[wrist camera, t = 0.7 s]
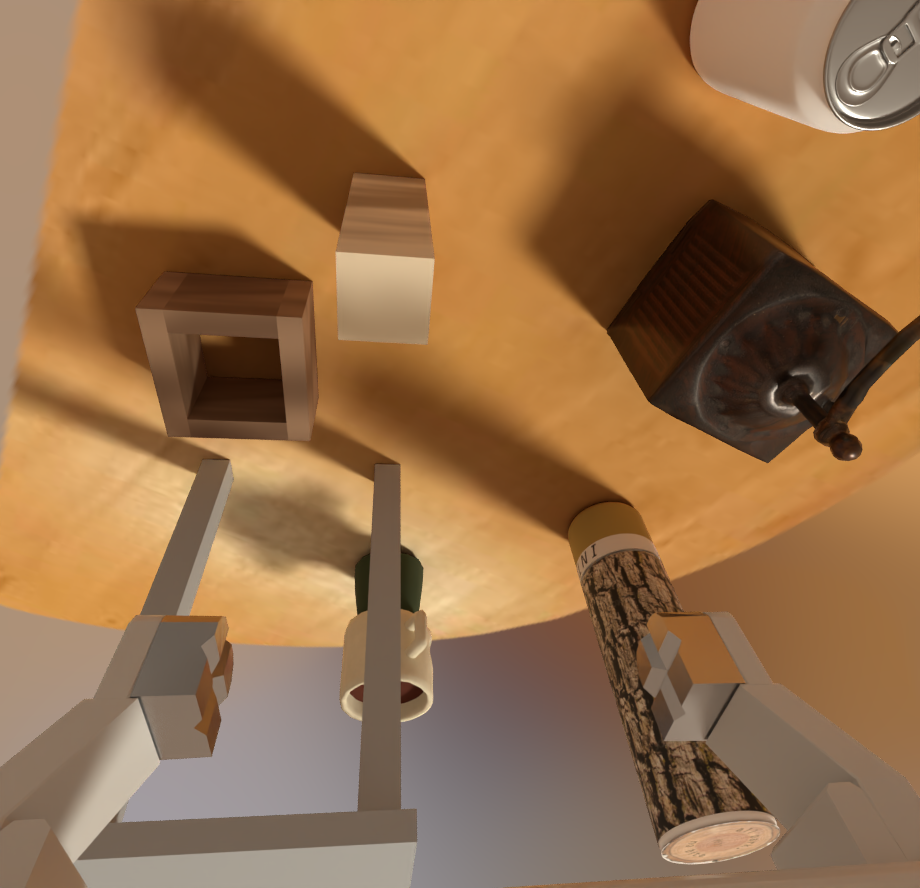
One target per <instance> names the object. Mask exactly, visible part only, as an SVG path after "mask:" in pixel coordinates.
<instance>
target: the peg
mask: <svg viewBox="0 0 920 888" xmlns="http://www.w3.org/2000/svg"><path fill="white" fill-rule="evenodd" d="M433 272H434V250H433V242H432V234H431V225H430V217H429V209H428V200H427V192H426V184H425V179H420V178H409V177H398V176H387V175H375V174H364V173H354V174H353V179H352V183H351V187H350V192H349V196H348V200H347V205H346V209H345V214H344V218H343V222H342V227H341V231H340V235H339V240H338V244H337V249H336V279H337V317H338V340H351V341H369V342H388V343H406V344H425V345H428V335H429V322H430V309H431V297H432V284H433Z"/></svg>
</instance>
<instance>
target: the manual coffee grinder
mask: <svg viewBox="0 0 920 888" xmlns="http://www.w3.org/2000/svg"><path fill="white" fill-rule="evenodd" d="M607 334H608V335H609V336H610V337H611V339H612V341H613V343H614V344H615V346H616V348H617V349H618V351H619V353H620V355H621V356H622V358H623V360H624V362H625V363H626V365H627V367H628V368H629V370H630V372H631V373H632V375H633V377H634V378H635V380H636V382H637V383H638V385H639V387H640V388H641V390H642V392H643V393H644V395H645V397H646V399H647V400H648V401H649V402H650V403H651V404H652V405H654V406H656V407H657V408H659V409H661V410H662V411H664V412H666V413H668V414H669V415H671V416H673V417H674V418H676V419H678V420H681V421H683V422H685V423H687V424H689V425H691V426H693V427H695V428H697V429H699V430H701V431H703V432H705V433H707V434H709V435H711V436H713V437H715V438H717V439H719V440H720V441H722V442H724V443H726V444H728V445H730V446H732V447H734V448H736V449H738V450H740V451H742V452H745V453H747V454H749V455H751V456H753V457H755V458H757V459H759V460H762V461H764V462H766V463H769V462H770V461H771V460H772V459H773V458H775V457H776V456H777V455H778V454H779V453H780V452H782V451H783V450H784V449H785V448H786V447H788V446H789V445H790V444H791V443H792V442H793V441H795V440H796V439H797V438H798V437H799V436H800V435H801V434H803V433H804V432H805V431H806V430H807V429H809V428H810V427H812V426H813V427H814V428H815V430H814V432H813V433H814V438H815V439H816V440H817V441H818V442H819V443H821V444H823V445H824V446H828V447H830V450H831V452H832V454H833V456H834V457H835V458H837V459H838V460H844V461H850V460H854V459H857V458H858V457H859V456H860V455H861V452H862V444H861V442H860V441H859V440H858V438H857V437H856V436H854V435H852V434H849V432H850V431H849V428H848V425H847V423H848V421H849V419H850V418H851V416H852V414H853V413H854V411H855V410H856V408H857V406H858V405H859V404H860V403H861V402H862V401H863V399H864V397H865V396H866V394H867V392H868V390H869V388H870V387H871V386H872V385H873V384H874V383H875V382H876V381H877V380H878V379H879V378H880V377H881V375H882V374H883V373H884V372H885V371H886V370H887V369H888V368H889V367H890V366H891V365H892V364H893V363H894V362H895V361H896V360H897V359H898V358H899V357H900V356H901V355H903V354H904V353H905V352H906V351H907V350H908V349H909V348H910V347H911V346H912V345H913V344H914V343H915V342H916V341H918V340H919V339H920V316H918V317H917V318H916V319H915V320H913V321H912V322H911V323H910V324H908V325H907V326H906V327H905V328H903V329H902V330H901V331H900V332H898V331H897V330H896V329H895V328H894V327H893V326H892V325H891V324H890V323H889V322H888V320H886V319H885V318H883V317H882V316H881V315H879V314H878V313H877V312H875V311H874V310H872V309H871V308H870V307H868V306H867V305H865V304H864V303H863V302H861V301H860V300H858V299H857V298H855V297H854V296H853V295H851V294H850V293H848V292H847V291H846V290H844V289H843V288H842V287H841V286H839V285H838V284H837V283H835V282H834V281H833V280H831V279H830V278H829V277H827V276H826V275H825V274H823V273H822V272H820V271H819V270H818V269H816V268H815V267H814V266H813V265H812V264H810V263H809V262H808V261H807V260H806V259H805V258H804V257H802V256H801V255H800V254H799V253H798V252H797V251H795V250H794V249H793V248H791V247H790V246H789V245H787V244H786V243H785V242H783V241H782V240H780V239H779V238H778V237H776V236H775V235H774V234H772V233H771V232H770V231H768V230H767V229H765V228H764V227H762V226H761V225H759V224H758V223H756V222H755V221H754V220H752V219H751V218H749V217H747V216H745V215H743V214H741V213H739V212H737V211H735V210H733V209H731V208H729V207H727V206H725V205H723V204H721V203H719V202H717V201H715V200H710V201H708V202H707V203H706V204H705V205H704V206H703V207H702V208H701V209H700V210H699V211H698V212H697V213H696V214H695V215H694V216H693V217H692V218H691V219H690V220H689V221H688V222H687V224H686V225H685V226H684V227H683V229H682V230H681V231H680V232H679V234H678V235H677V236H676V237H675V239H674V240H673V241H672V243H671V244H670V245H669V246H668V248H667V249H666V250H665V252H664V253H663V254H662V255H661V257H660V258H659V259H658V261H657V262H656V263H655V265H654V266H653V267H652V268H651V270H650V271H649V272H648V274H647V275H646V276H645V278H644V279H643V280H642V282H641V283H640V284H639V286H638V287H637V289H636V290H635V292H634V293H633V294H632V296H631V297H630V299H629V300H628V301H627V303H626V304H625V306H624V307H623V308H622V310H621V311H620V313H619V314H618V315H617V317H616V318H615V320H614V321H613V322H612V324H611V325H610V327H609V328H608V329H607Z"/></svg>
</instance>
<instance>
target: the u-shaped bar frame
mask: <svg viewBox="0 0 920 888" xmlns="http://www.w3.org/2000/svg"><path fill="white" fill-rule="evenodd" d="M233 480H234V479H233V473H232V467H231V462H230V460H213V459H203V460H202V463H201V465H200V468H199V470H198V473H197V475H196V477H195V480H194V482H193V485H192V487H191V490H190V492H189V495H188V497H187V500H186V502H185V505H184V507H183V510H182V512H181V515H180V517H179V520H178V522H177V525H176V527H175V530H174V532H173V534H172V537H171V539H170V542H169V544H168V547H167V549H166V552H165V554H164V557H163V559H162V562H161V564H160V567H159V569H158V572H157V574H156V577H155V579H154V582H153V584H152V587H151V589H150V591H149V594H148V596H147V599H146V601H145V604H144V606H143V609H142V611H141V614H140V615H180V616H189V614H190V611H191V608H192V605H193V602H194V599H195V596H196V593H197V590H198V587H199V584H200V581H201V578H202V575H203V572H204V568H205V565H206V562H207V559H208V556H209V553H210V550H211V547H212V544H213V541H214V538H215V535H216V532H217V529H218V526H219V523H220V520H221V516H222V513H223V510H224V507H225V504H226V501H227V498H228V495H229V492H230V489H231V486H232V483H233ZM128 801H129V800H128ZM128 801H127V802H126V803H125V805H124V806H123V807H122V808H121V809H120V810H119V811H118V813H117V814H116V815H115V816H114V817H113V818H112V820H111V821H110V822H109V823H108V824H107V825H106V826H105V828H104V829H103V830H102V831H101V832H100V833H99V835H98V836H97V837H96V838H95V839H94V840H93V842H92V843H91V844H90V845H89V846H88V847H87V848H86V850H85V851H84V852H83V853H82V854H81V855H80V857H79V858H78V859H77V860H76V861H75V862H74V863H73V864H74V866H75V867H76V869H77V871H78V872H79V874H80V875H81V877H82V879H83V880H84V882H85V883H86V885H87V887H88V888H410V883H411V877H412V870H413V864H414V858H415V852H416V846H417V810H416V809H401V543H400V465H395V464H375V474H374V494H373V514H372V534H371V553H370V573H369V593H368V613H367V633H366V653H365V673H364V693H363V712H362V732H361V752H360V772H359V793H358V811H357V812H336V813H317V814H316V813H315V814H294V815H272V816H251V817H229V818H209V819H186V820H166V821H145V822H122V819H123V816H124V813H125V810H126V807H127V804H128ZM121 822H122V823H121Z"/></svg>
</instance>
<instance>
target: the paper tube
mask: <svg viewBox="0 0 920 888" xmlns="http://www.w3.org/2000/svg"><path fill="white" fill-rule="evenodd" d="M568 540H569V544H570V547H571V551H572V554H573V558H574V561H575V564H576V568H577V572H578V576H579V579H580V582H581V586H582V589H583V592H584V596H585V599H586V603H587V606H588V609H589V613H590V616H591V619H592V622H593V626H594V630H595V633H596V636H597V640H598V643H599V647H600V650H601V653H602V657H603V660H604V663H605V667H606V670H607V674H608V677H609V680H610V684H611V687H612V691H613V694H614V697H615V700H616V704H617V707H618V711H619V714H620V718H621V721H622V724H623V728H624V731H625V734H626V738H627V741H628V745H629V748H630V751H631V755H632V758H633V761H634V765H635V768H636V772H637V775H638V778H639V782H640V785H641V788H642V792H643V795H644V799H645V802H646V806H647V809H648V812H649V816H650V819H651V822H652V826H653V829H654V832H655V836H656V839H657V843H658V846H659V848H660V849H661V851H662V857H663V858H664V859H666V860H668V861H670V862H674V863H680V864H703V863H712V862H719V861H724V860H729V859H733V858H737V857H740V856H743V855H747V854H750V853H752V852H754V851H757V850H759V849H762V848H764V847H766V846H767V845H769V844H771V843H772V842H773V841H775V840H776V839H777V837H778V836H779V834H780V829H779V828H778V827H777V823H776V818H775V817H774V815H773V814H772V813H771V812H770V811H769V810H768V809H767V808H766V807H765V806H764V805H763V804H762V803H761V802H760V801H759V800H758V798H757V797H756V796H755V795H754V794H753V793H752V792H751V791H750V790H749V789H748V788H747V787H746V786H745V785H744V784H743V783H742V781H741V780H740V779H739V778H738V777H737V776H736V775H735V774H734V773H733V772H732V771H731V770H730V769H729V768H728V767H727V766H726V764H725V763H724V762H723V761H722V760H721V759H720V758H719V757H718V756H717V755H716V754H715V753H714V752H713V751H712V750H711V749H710V748H709V746H708V745H707V744H706V741H664V740H663V738H662V735H661V733H660V730H659V727H658V725H657V722H656V720H655V717H654V715H653V712H652V709H651V707H652V704H653V701H654V697H653V696H652V695H651V694H650V693H649V692H648V691H647V690H645V689H644V688H643V686H642V683H641V680H640V678H639V674H638V669H637V648H638V646H639V643H640V640H641V639H642V638H643V637H645V636H646V635H648V634H649V633H650V632H649V629H648V627H647V623H648V620H649V618H650V616H651V615H653V614H654V613H659V612H684V611H683V609H682V607H681V604H680V602H679V600H678V597H677V595H676V593H675V591H674V588H673V586H672V584H671V582H670V579H669V577H668V575H667V573H666V570H665V568H664V566H663V564H662V561H661V559H660V557H659V555H658V552H657V550H656V548H655V546H654V544H653V542H652V540H651V537H650V535H649V533H648V531H647V528H646V526H645V524H644V521H643V519H642V517H641V515H640V514H639V512H638V511H637V510H636V509H634V508H633V507H631V506H629V505H627V504H624V503H620V502H604V503H599V504H596V505H593V506H591V507H589V508H587V509H585V510H583V511H582V512H581V513H579V514H578V515H577V516H576V517H575V518H574V520H573V521H572V523H571V525H570V527H569V530H568Z"/></svg>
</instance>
